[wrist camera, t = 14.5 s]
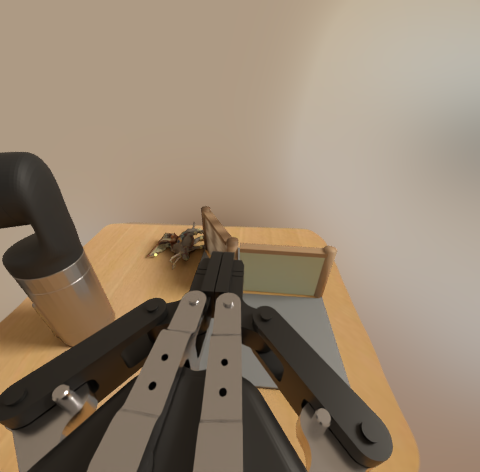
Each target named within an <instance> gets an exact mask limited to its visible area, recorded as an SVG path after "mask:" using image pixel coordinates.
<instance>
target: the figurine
mask: <svg viewBox="0 0 480 472" xmlns="http://www.w3.org/2000/svg"><path fill="white" fill-rule="evenodd" d="M194 227H195V223H193V228H192V229H187V230H186V231H185V232H184V231H183V232H182V233H181V234H180V236H179V237H178V236H177V235H176V234H175V233H174V234H170V233H165V234H164V236H163V237H162V239H161V240H160V241H159V242H158V244H157V245H156V246H155V248H154V249H153V250H152V251H151V252H150V254H149V255H147V257H148V256H151V255H152V254H154V256H157V255H158V254H157V253H160V252H162V251H164V250H166V249H165V248H167V247H169V248H170V247H171V248H170V249H171V251H173V252H174V253H175V254H176V255H174V256H173V257H171V259H170V261H171V260H172V259H173V258H175V257H177V256H179V257H178V258H177V259H176V261H175V262H174V263H173V262H172V261H171V262H172V263H173V266H172V270H173V269H174V268H175V267H174V265H175V264H176V262H177V261H178V260H179V259H180V258H182V259H183V260H185V261H187V260H189V255H188V254H189V252H190V251H193V250H197V249H205V250H206V248H205V245H201V246H197V247H194V246H193V245H194V244H196V243H197V242H198V241H200V240H203V239H204V236H200V237H198V238H196V239H194V237H193V235H197V233H200V234H202V233H203V230H201V229H194Z"/></svg>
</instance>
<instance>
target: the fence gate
mask: <svg viewBox="0 0 480 472" xmlns="http://www.w3.org/2000/svg"><path fill="white" fill-rule="evenodd" d="M336 252H337V250H336V248H334V247H332V246H326V247H325V248H314V247H298V246H282V245H266V244H250V243H240V260H242V262H243V264H244V285H243V290H245V291H258V292H271V293H284V294H297V295H310V296H315V297H317V298H320V297H322V295H323V292H324V289H325V286H326V283H327V280H328V277H329V274H330V271H331V268H332V265H333V262H334V259H335V256H336Z"/></svg>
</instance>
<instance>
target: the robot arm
mask: <svg viewBox="0 0 480 472" xmlns="http://www.w3.org/2000/svg"><path fill="white" fill-rule="evenodd" d="M29 224H31V226H32V227H33V229H34V231H35V233H34V234H32V235H30V236H28V237H26V238H24V239H22V240H20V241H18V242H17V243H15V244H14V245H13V246H11V247H10V248H9V249H8V250H7V251H6V252H5V253H4V255H3V258H2V261H3V264H4V266H5V268H6V269H7V270H8V272H9V273H10V274H11V275H12V276H13V278H14V279H15V280H16V282H17V283H18V284H19V285H20V287H21V288H22V289H23V290H24V292H25V293H26V294H27V295H28V297H29V298H30V299H31V301H32V302H33V304H32V306H33V308H34V309H35V310H36V311H37V313H38V314H39V315H40V316H41V318H42V319H43V320H44V321H45V323H46V324H47V325H48V327H49V328H50V329H51V330H52V332H53V333H54V334H55V335H56V337H60V338H61V339H62V341H63V342H64V343H65V344H66V345H68V346H72V348H70V349H69V350H67V351H65V352H64V353H62V354H61V355H59V356H57V357H56V358H54V359H53V360H51V361H49V362H48V363H46V364H45V365H43V366H41V367H40V368H38V369H37V370H35V371H33V372H32V373H30V374H29V375H27V376H25V377H24V378H22V379H21V380H19V381H17V382H16V383H14V384H13V385H11V386H10V387H9V388H7V389H6V390H5V391H4V392H3V393H2V394H1V395H0V423H1V424H2V425H4V426H5V427H6V428H7V429H8V430H10V431H11V432H12V433H13V438H14V444H15V450H16V456H17V462H18V468H19V472H369V471H371V470H372V469H374V468H375V467H377V466H378V465H380V464H381V463H383V462H384V461H386V460H387V459H388V458H389V457H390V456H391V454H392V449H393V444H392V439H391V436H390V433H389V431H388V429H387V427H386V426H385V424H384V423H383V422H382V420H381V419H380V418H379V417H378V416H377V415H376V414H375V413H374V412H373V411H372V410H371V409H370V408H369V407H368V406H367V405H366V404H365V402H364V401H363V400H362V399H361V398H360V397H359V396H358V395H357V394H356V393H355V392H354V391H353V390H352V389H351V388H350V387H349V386H348V385H347V384H346V383H345V382H344V381H343V380H342V379H341V377H340V376H339V375H338V374H337V373H336V372H335V371H334V370H333V369H332V368H331V367H330V366H329V365H328V364H327V363H326V362H325V361H324V360H323V359H322V358H321V357H320V356H319V355H318V354H317V352H316V351H315V350H314V349H313V348H312V347H311V346H310V345H309V344H308V343H307V342H306V341H305V340H304V339H303V338H302V337H301V336H300V335H299V334H298V333H297V332H296V331H295V330H294V329H293V328H292V326H291V325H290V324H289V323H288V322H287V321H286V320H285V319H284V318H283V317H282V316H281V315H280V314H279V313H278V312H277V311H276V310H275V309H274V308H272V307H269V306H260V307H258V308H257V309H256V308H253V307H251V306H249V305H247V304H246V303H245V302H244V301H243V285H244V264H243V262H242V260H235V252H224V253H223V252H222V251H212V254H211V257H210V258H204V259H203V260H202V261H201V262H200V263H199V265H198V268H197V271H196V274H195V277H194V280H193V282H192V285H191V288H190V291H189V292H188V293H186V294H185V295H184V296H183V297H182V299H181V300H179V301H176V302H171V303H166V302H165V301H164V300H163V299H161V298H153V299H150V300H147V301H146V302H144V303H142V304H141V305H139V306H138V307H136V308H134V309H133V310H131V311H130V312H128V313H126V314H125V315H123V316H122V317H120V318H118V319H117V320H115V321H114V319H115V314H114V311H113V309H112V307H111V305H110V303H109V300H108V298H107V296H106V294H105V292H104V290H103V288H102V286H101V284H100V282H99V280H98V278H97V276H96V273H95V271H94V269H93V267H92V265H91V263H90V261H89V259H88V257H87V255H86V253H85V251H84V249H83V247H82V245H81V243H80V240H79V237H78V234H77V231H76V228H75V226H74V224H73V221H72V219H71V217H70V214H69V212H68V210H67V207H66V204H65V202H64V199H63V197H62V194H61V192H60V189H59V186H58V184H57V182H56V180H55V178H54V176H53V174H52V172H51V170H50V169H49V168H48V166H47V165H46V164H45V163H44V162H43V160H41V159H40V158H39V157H38V156H36V155H34V154H31V153H28V152H7V153H6V152H5V153H0V229H1V228H8V227H15V226H22V225H29ZM211 318H214V323H213V332H212V334H211V337H210V344H209V353H208V361H207V369H205V370H200V371H199V367H200V361H201V357H202V354H203V350H204V347H205V343H206V340H207V336H208V333H209V326H210V321H211ZM242 344H243V345H245V346H248V347H250V348H251V350H252V352H253V353H254V355H255V356H256V358H257V359H258V360H259V362H260V363H261V365H262V366H263V367H264V369H265V370H266V372H267V373H268V374H269V376H270V377H271V379H272V380H273V381H274V383H275V384H276V386H277V387H278V388H279V390H280V391H281V393H282V394H283V395H284V397H285V398H286V399H287V401H288V402H289V404H290V405H291V406H292V408H293V409H294V411H295V412H296V413H297V415H298V416H299V418H298V420H297V423H296V435H297V438H298V441H299V443H300V445H301V447H302V449H303V451H304V455H305V459H306V468H305V466H304V465H303V463H302V461H301V460H300V458H299V456H298V455H297V453H296V451H295V450H294V448H293V446H292V445H291V443H290V441H289V440H288V438H287V436H286V435H285V433H284V431H283V430H282V428H281V426H280V425H279V423H278V421H277V420H276V418H275V416H274V415H273V413H272V411H271V410H270V408H269V406H268V405H267V403H266V401H265V400H264V398H263V396H262V395H261V393H260V392H259V390H258V389H257V388H256V387H255V386H254V385H253V384H252V383H251V382H250V381H249V380H247V379H246V378H244V377H242ZM142 367H143V368H142ZM140 368H142V370H141V372H140V374H139V375H138V376H136V377H135V378H133V379H132V380H131V381H130V382H128V383H127V384H126V385H125V386H124V387H123V388H121V389H120V390H119V391H118V392H117V393H116V394H115V395H113V396H112V397H111V398H110V399H109V400H108V401H107V402H105V403H104V404H103V405H102V406H101V407H100V408H99V409H97V410H96V408H97V404H98V403H99V402H100V401H101V400H103V399H104V398H105V397H106V396H107V395H109V394H110V393H111V392H112V391H114V390H115V389H116V388H117V387H118V386H120V385H121V384H122V383H123V382H125V381H126V380H127V379H128V378H129V377H131V376H132V375H133V374H134V373H136V372H137V371H138V370H139V369H140Z"/></svg>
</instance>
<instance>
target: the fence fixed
mask: <svg viewBox="0 0 480 472" xmlns="http://www.w3.org/2000/svg"><path fill="white" fill-rule="evenodd" d="M201 212H202V222H203V234H204V244H205V248H206V250H207V251H209V253H210V255H211V254H212V251H222V252H223V253H224V252H235V260H238V239H237V238H235V237H231V235H230V234H229V233H228V232H227V231H226V229H225V228H224V227H223V226H222V224H221V223H220V222H219V221H218V220H217V218H216V217H215V216H214V214H213V213H212V212H211V211H210V207H207V206H205V207H202V208H201Z"/></svg>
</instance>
